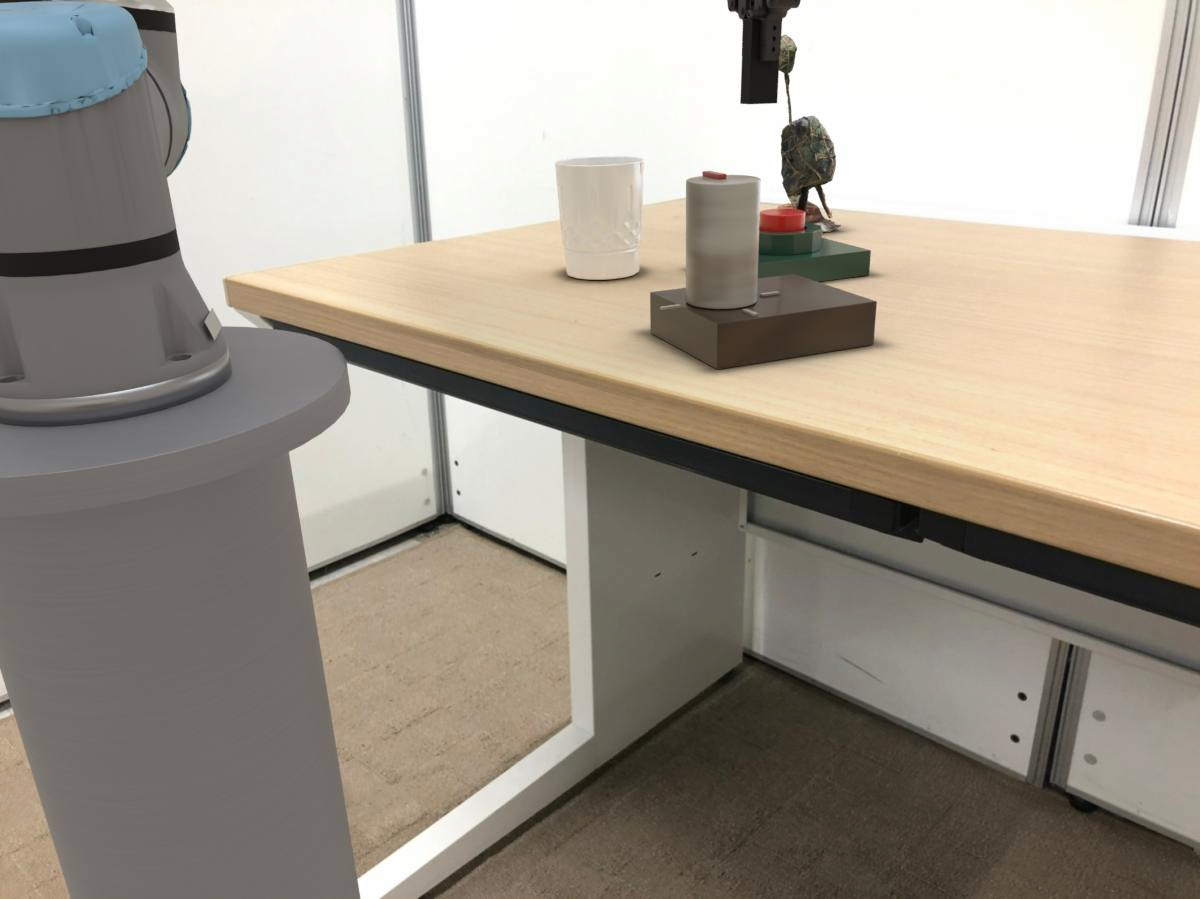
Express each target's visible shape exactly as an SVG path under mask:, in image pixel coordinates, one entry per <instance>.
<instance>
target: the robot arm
mask: <svg viewBox="0 0 1200 899" xmlns="http://www.w3.org/2000/svg"><path fill="white" fill-rule="evenodd" d="M801 1H802V0H726V2H727V9H728V11H729V13H736V14H737V15H738V18H739V20H742V32H741V33H742V36H741V40H742V41H741V76H740V100H739V102H740V105H767V104H778V94H779V72H780V71H779V58H780V53H781V47H780V46H781V36H782V31H783V30H782V29H783V19H785V18H786V17H787V14H788V11H790V10H792V9H798V8H799V6H800V4H801ZM179 56H180V55H179V45H178V33H177V23H176V13H175V8H174V6H173V5H172V4H171V3H169V2H168V1H167V0H0V423H3V424H9V425H18V426H41V427H45V426H69V425H81V424H90V423H98V422H105V421H112V420H118V419H124V418H129V417H134V416H139V415H143V414H148V413H152V412H156V411H159V410H163V409H167V408H170V407H174V406H177V405H180V404H183V403H186V402H188V401H191V400H194V399H196V398H199V397H201V396H203V395H205V394H207V393H209V392H211V391H213V390H215V389H216V388H218V387H220V386H221V385H222V384H224V383H225V382H226V381H227V380H228V379H229V378H230V376H231V374H232V366H231V360H230V355H229V349H228V345H227V343H226V342H225V339H224V337H223V335H222V333H221V331H220V329H221V327H222V326H223V325H222V323H221V321H220V319H219V317H218V315H217V314H216V311H215V310H214V308H213V307H211V309H209V308H208V305H207V303H206V302H205V300H204V299H203V296H202V295H201V293H200V291H199V289H198V287H197V285H196V284H195V282H194V280H193V278H192V277H191V274H190V272H189V271H188V269H187V267H186V265H185V262H184V260H183V255H182V251H181V246H180V241H179V235H178V231H177V223H176V219H175V213H174V208H173V203H172V197H171V192H170V188H169V181H168V178H169V177H170V176H171V175H172V174H173V173H174V172H175V171H176V170H177V168H178V167H179V165H180V164H181V162H182V160H183V158H184V157H185V155H186V152H187V150H188V146H189V145H188V143H189V142H190V141H191V136H192V135H191V134H192V128H193V126H192V125H193V118H192V108H191V102H190V100H189V99H188V97H187V90H186V88H185V86H184V85H183V83H182V80H181V70H180V59H179V58H180V57H179Z"/></svg>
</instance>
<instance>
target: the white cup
mask: <svg viewBox="0 0 1200 899" xmlns="http://www.w3.org/2000/svg"><path fill="white" fill-rule="evenodd" d="M644 164H645V160H644V159H643V157H637V156H628V155H627V156H626V155H623V156H622V155H599V156H598V155H597V156H582V157H570V158H564V159H559V160H556V161H554V171H555V181H556V192H557V204H558V214H559V215H558V216H559V224H560V225H559V226H560V231H561V242H562V246H563V247H564V249H563V250H564V260H565V271H566V275H567V276H569V277H570V278H571V277H572V278H575V279H580V280H589V281H591V280H592V281H593V280H594V281H595V280H596V281H597V280H598V281H599V280H600V281H602V280H605V281H606V280H616V279H623V278H629V277H631V276H634V275H636V274H638V273H639V272H640V255H641V253H640V251H641V250H640V249H641V247H640V244H641V241H642V226H643V224H642V223H643V210H644V209H643V207H644V205H643V204H644V171H645V170H644V167H645V165H644Z"/></svg>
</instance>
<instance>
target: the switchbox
mask: <svg viewBox="0 0 1200 899" xmlns="http://www.w3.org/2000/svg"><path fill="white" fill-rule="evenodd" d="M871 252H872V250H870V249H868V248H864V247H860V246H856V245H852V244H849V243H844V242H841V241H837V240H833V239H829V238H825V237H823V233H822V228H821V226H820V225H816V224H812V223H806V222H805V230H802V231H794V232H769V231H761V230H759V255H758V279H759V278H767V277H775V276H783V275H791V274H795V275H798V276H801V277H804V278H808V279H811V280H814V281H817V282H820V283H821V282H827V281H835V280H843V279H850V278H856V277H857V278H858V277H866V276H870V268H871V256H872V254H871Z"/></svg>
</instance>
